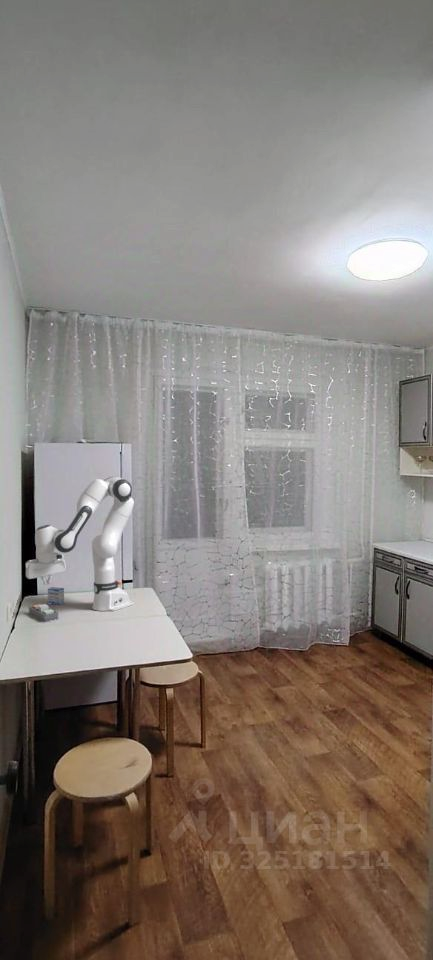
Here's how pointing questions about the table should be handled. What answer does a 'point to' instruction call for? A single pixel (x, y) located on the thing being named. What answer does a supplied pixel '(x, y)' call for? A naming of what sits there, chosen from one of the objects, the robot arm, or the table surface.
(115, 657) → the table surface
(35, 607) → the terracotta key
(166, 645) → the table surface
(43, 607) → the light grey square block
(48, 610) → the sage key
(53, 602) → the medicine box
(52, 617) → the grey compartment tray
